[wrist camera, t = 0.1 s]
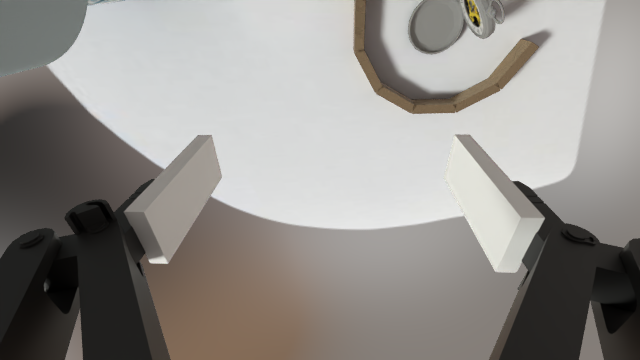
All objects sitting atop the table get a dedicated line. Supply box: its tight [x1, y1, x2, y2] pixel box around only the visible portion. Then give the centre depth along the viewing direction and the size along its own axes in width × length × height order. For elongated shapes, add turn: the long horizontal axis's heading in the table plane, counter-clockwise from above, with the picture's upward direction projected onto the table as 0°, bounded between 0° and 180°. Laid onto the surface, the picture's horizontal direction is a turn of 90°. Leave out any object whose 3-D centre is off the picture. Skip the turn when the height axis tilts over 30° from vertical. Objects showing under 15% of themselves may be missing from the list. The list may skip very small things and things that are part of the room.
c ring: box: [353, 0, 539, 114], centre depth 35 cm, size 22×22×2 cm
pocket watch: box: [408, 0, 505, 54], centre depth 32 cm, size 8×8×10 cm
